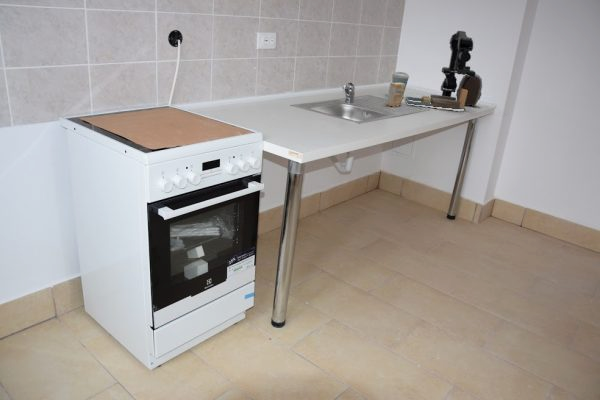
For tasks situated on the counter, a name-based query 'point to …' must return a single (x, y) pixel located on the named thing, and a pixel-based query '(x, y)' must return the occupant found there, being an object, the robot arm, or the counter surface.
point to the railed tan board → (444, 102)
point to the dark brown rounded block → (471, 90)
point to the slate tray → (416, 102)
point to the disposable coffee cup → (400, 78)
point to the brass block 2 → (426, 100)
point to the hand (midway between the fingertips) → (455, 86)
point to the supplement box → (395, 94)
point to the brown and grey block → (462, 98)
